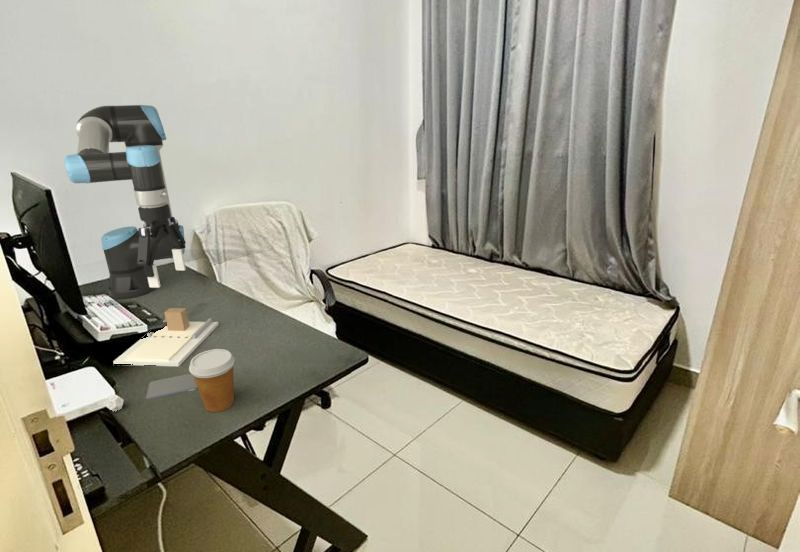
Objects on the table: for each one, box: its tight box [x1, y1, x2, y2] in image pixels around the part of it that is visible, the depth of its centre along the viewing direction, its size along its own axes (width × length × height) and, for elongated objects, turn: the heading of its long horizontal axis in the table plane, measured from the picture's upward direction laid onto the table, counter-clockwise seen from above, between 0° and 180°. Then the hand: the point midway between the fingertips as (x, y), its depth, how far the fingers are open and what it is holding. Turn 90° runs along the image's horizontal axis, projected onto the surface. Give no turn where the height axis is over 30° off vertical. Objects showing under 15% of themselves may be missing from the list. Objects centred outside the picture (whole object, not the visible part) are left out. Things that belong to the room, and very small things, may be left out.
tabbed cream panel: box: [152, 307, 204, 337], centre depth 136 cm, size 8×12×7 cm, turn 86°
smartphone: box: [145, 372, 198, 400], centre depth 113 cm, size 8×1×15 cm
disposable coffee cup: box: [188, 348, 236, 413], centre depth 104 cm, size 10×10×12 cm
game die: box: [105, 394, 125, 413], centre depth 104 cm, size 4×4×3 cm
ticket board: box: [112, 317, 220, 367], centre depth 132 cm, size 24×18×2 cm
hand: (168, 278), depth 131 cm, fingers open, 13 cm apart
